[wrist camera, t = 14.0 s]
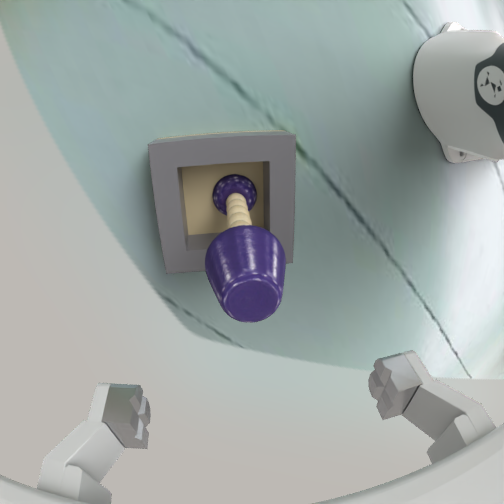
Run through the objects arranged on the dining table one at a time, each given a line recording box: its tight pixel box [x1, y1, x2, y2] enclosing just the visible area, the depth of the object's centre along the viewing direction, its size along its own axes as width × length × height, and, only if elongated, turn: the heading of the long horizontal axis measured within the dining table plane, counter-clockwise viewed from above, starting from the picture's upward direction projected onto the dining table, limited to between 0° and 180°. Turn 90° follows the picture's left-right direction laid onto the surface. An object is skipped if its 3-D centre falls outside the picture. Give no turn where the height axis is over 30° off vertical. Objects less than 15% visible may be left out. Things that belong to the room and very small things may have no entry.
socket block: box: [148, 130, 296, 274], centre depth 28 cm, size 12×12×4 cm
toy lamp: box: [205, 174, 286, 322], centre depth 22 cm, size 5×5×17 cm
